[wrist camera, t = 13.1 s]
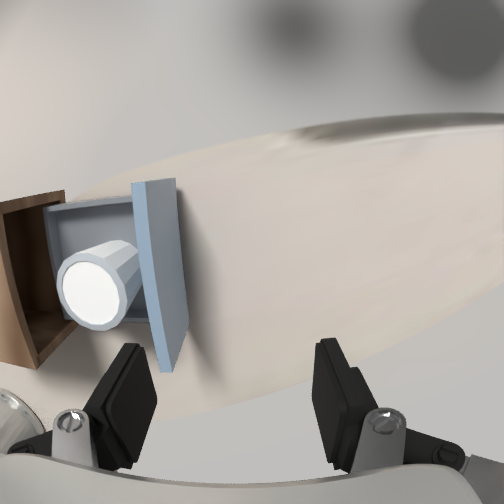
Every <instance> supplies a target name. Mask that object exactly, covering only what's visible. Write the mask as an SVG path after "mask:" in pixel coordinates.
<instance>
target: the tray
mask: <svg viewBox="0 0 504 504" xmlns="http://www.w3.org/2000/svg"><path fill="white" fill-rule="evenodd" d="M131 188H132V195H125V196H116V197H107V198H99V199H91V200H83V201H76V202H69V203H62V204H55V205H51V206H47V207H43V215H44V223H45V230H46V237H47V243H48V249H49V254H50V260H51V265H52V270H53V275H54V279H55V284H56V288H57V275H58V271H59V269H60V267H61V265H62V263H63V262H64V260H65V259H67V258H69V257H70V256H72V255H73V254H75V253H78V252H80V251H83V250H86V249H89V248H92V247H95V246H98V245H100V244H103V243H106V242H109V241H116V240H122V241H125V242H127V243H130V244H132V245H133V246H134V247H135V248H136V249H137V250H138V255H139V262H140V269H141V275H142V282H143V284H142V286H141V287H140V289H139V291H138V293H137V294H136V296H135V298H134V300H133V301H132V303H131V305H130V307H129V309H128V310H127V312H126V314H125V316H124V317H123V318H122V320H121V321H120V322H141V323H150V326H151V331H152V336H153V341H154V346H155V350H156V355H157V359H158V363H159V368H160V372H169V373H172V372H173V370H174V367H175V364H176V361H177V358H178V355H179V352H180V349H181V346H182V343H183V341H184V338H185V335H186V332H187V329H188V326H189V324H190V320H189V313H188V305H187V297H186V289H185V281H184V272H183V263H182V254H181V244H180V233H179V222H178V209H177V196H176V181H175V178H167V179H159V180H151V181H144V182H137V183H131ZM57 292H58V290H57ZM58 296H59V294H58ZM59 300H60V298H59ZM60 304H61V308H62V312H63V315H64V319H68V320H74V319H73V318H72V317H71V316H70V315H69V314H68V313H67V311H66V310H65V308H64V306H63V305H62V303H61V301H60Z"/></svg>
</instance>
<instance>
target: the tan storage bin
mask: <svg viewBox="0 0 504 504" xmlns="http://www.w3.org/2000/svg"><path fill="white" fill-rule="evenodd" d="M62 203H65V192H64V190H60V191H54V192H49V193H43V194H38V195H33V196H28V197H23V198H19V199H14V200H9V201H4V202H0V362H4V363H8V364H12V365H17V366H21V367H26V368H30V369H35V370H37V369H38V368H39V367H40V365H41V364H42V363H43V362H44V361H45V360H46V359H47V358H48V357H49V356H50V354H51V353H52V352H53V351H54V350H55V349H56V348H57V347H58V346H59V345H60V344H61V343H62V342H63V340H64V339H65V338H66V337H67V336H68V335H69V334H70V333H71V332H72V331H73V330H74V329H75V328H76V327H77V326H78V325H79V324H78V323H77V322H76V321H75V320H68V319H64V315H63V312H62V308H61V304H60V300H59V296H58V292H57V288H56V284H55V279H54V275H53V270H52V265H51V260H50V254H49V249H48V243H47V237H46V230H45V223H44V215H43V207H47V206H51V205H55V204H62Z"/></svg>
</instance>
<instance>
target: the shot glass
mask: <svg viewBox="0 0 504 504" xmlns="http://www.w3.org/2000/svg"><path fill="white" fill-rule="evenodd" d="M142 284H143V282H142V275H141V269H140V262H139V255H138V250H137V249H136V248H135V247H134V246H133V245H132V244H130V243H127V242H125V241H122V240H116V241H109V242H106V243H103V244H100V245H98V246H95V247H92V248H89V249H86V250H83V251H80V252H78V253H75V254H73V255H72V256H70V257H69V258H67V259H65V260H64V262H63V263H62V265H61V267H60V269H59V271H58V275H57V290H58V294H59V298H60V301H61V303H62V305H63V306H64V308H65V310H66V311H67V313H68V314H69V315H70V316H71V317H72V318H73V319H74V320H75V321H76V322H77V323H78V324H80V325H82V326H84V327H86V328H89V329H91V330H99V331H106V330H108V329H111V328H113V327H115V326H117V325H118V324H119V322H120V321H121V320H122V318H123V317H124V316H125V314H126V312H127V310H128V309H129V307H130V305H131V303H132V301H133V300H134V298H135V296H136V294H137V293H138V291H139V289H140V287H141V286H142Z"/></svg>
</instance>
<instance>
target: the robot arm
mask: <svg viewBox="0 0 504 504" xmlns="http://www.w3.org/2000/svg"><path fill="white" fill-rule="evenodd" d="M312 402H313V406H314V410H315V414H316V417H317V422H318V426H319V429H320V434H321V438H322V441H323V446H324V450H325V453H326V458H327V462H328V463H333V466H334V470H338V469H341V470H343V471H345V472H347V473H348V474H346V475H339V476H332V477H326V478H317V479H310V480H301V481H290V482H276V483H256V484H216V483H196V482H183V481H171V480H163V479H155V478H148V477H141V476H135V475H128V474H123V473H118V472H117V470H118V469H119V468H120V467H121V468H126V469H131V468H132V465H133V462H134V463H136V462H137V461H138V458H139V455H140V452H141V449H142V446H143V443H144V440H145V437H146V434H147V431H148V428H149V425H150V423H151V420H152V417H153V414H154V411H155V408H156V405H157V395H156V391H155V388H154V384H153V381H152V377H151V373H150V369H149V366H148V362H147V358H146V354H145V350H144V348H143V347H140V345H139V344H138V343H125V344H124V345H123V347H122V348H121V350H120V351H119V353H118V354H117V356H116V358H115V359H114V361H113V362H112V364H111V365H110V367H109V369H108V370H107V372H106V373H105V374H104V376H103V377H102V379H101V380H100V382H99V384H98V385H97V387H96V389H95V390H94V392H93V393H92V395H91V397H90V398H89V400H88V402H87V403H86V405H85V407H84V408H83V410H79V409H68V410H65V411H63V412H61V413H60V414H58V415H57V416H56V418H55V419H54V423H53V430H51V431H48V432H45V433H44V429H43V427H42V424H41V423H40V421H39V419H38V418H37V417H36V415H35V414H34V413H33V412H32V410H31V409H30V408H29V407H28V406H27V405H26V404H25V403H23V402H22V401H21V400H20V399H19V398H17V397H16V396H15V395H13V394H12V393H10V392H8V391H5V390H2V389H0V504H504V463H500V462H496V461H493V460H489V459H486V458H482V457H479V456H475V455H471V456H470V457H468V456H465V453H464V451H463V449H462V448H461V447H460V446H458V445H457V444H454V443H452V442H449V441H445V440H442V439H439V438H435V437H432V436H429V435H426V434H423V433H420V432H416V431H414V430H411V429H408V428H406V419H405V417H404V416H403V414H401V413H400V412H399V411H397V410H395V409H392V408H378V405H377V403H376V401H375V399H374V398H373V395H372V393H371V391H370V389H369V387H368V385H367V383H366V381H365V379H364V377H363V375H362V373H361V372H360V370H359V369H358V367H352V368H350V367H349V364H348V362H347V360H346V358H345V356H344V354H343V352H342V350H341V348H340V346H339V344H338V342H337V340H336V338H326V339H321V341H320V343H316V347H315V361H314V374H313V386H312Z"/></svg>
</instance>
